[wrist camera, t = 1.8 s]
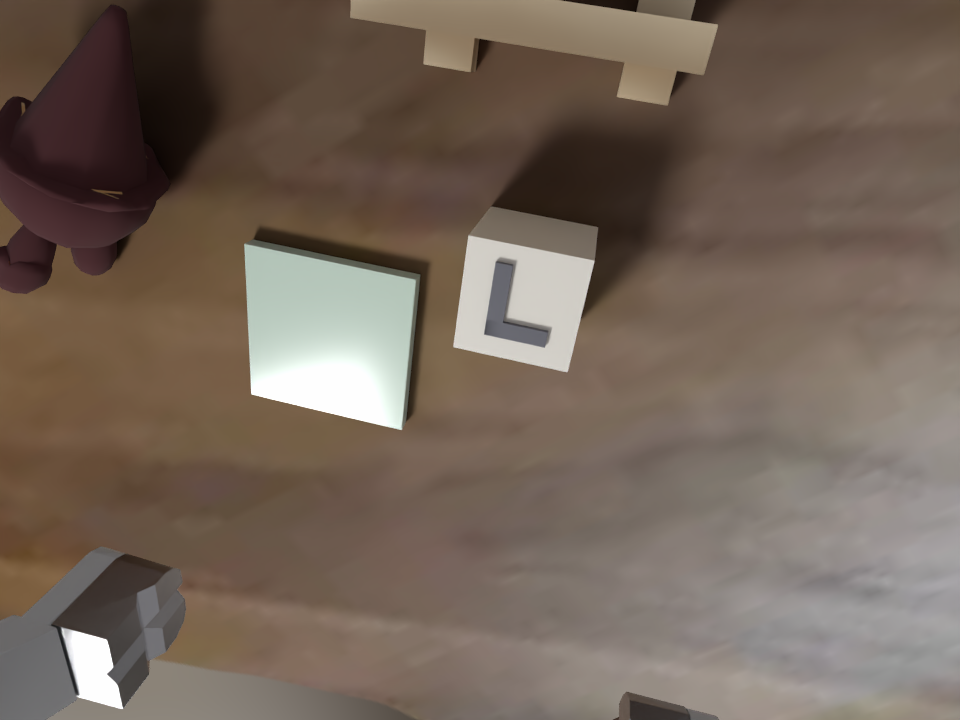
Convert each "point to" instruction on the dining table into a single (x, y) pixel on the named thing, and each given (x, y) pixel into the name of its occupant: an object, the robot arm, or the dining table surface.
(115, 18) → the maroon gnome figurine
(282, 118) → the dining table surface
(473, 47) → the oak screen
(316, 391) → the green tile
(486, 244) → the letter cube
